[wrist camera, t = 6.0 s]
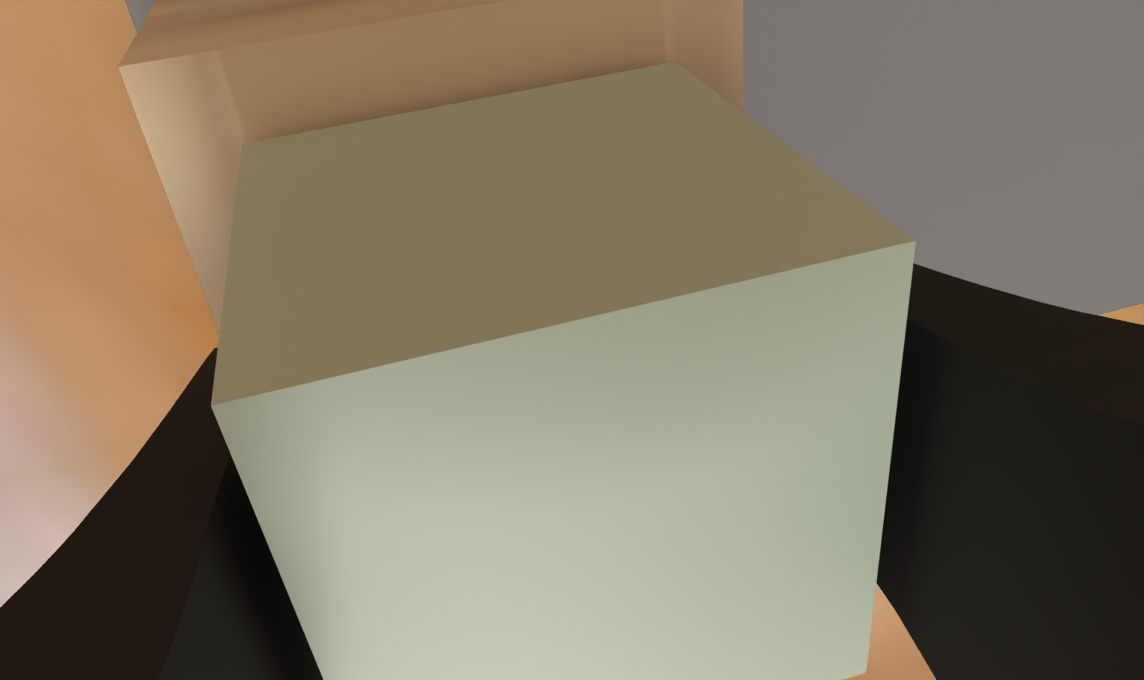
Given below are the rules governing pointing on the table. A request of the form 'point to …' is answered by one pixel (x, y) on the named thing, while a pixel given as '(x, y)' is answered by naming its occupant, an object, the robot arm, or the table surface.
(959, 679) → the robot arm
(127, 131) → the table surface
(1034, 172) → the mat
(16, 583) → the table surface
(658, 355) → the sage cube
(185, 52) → the base block
